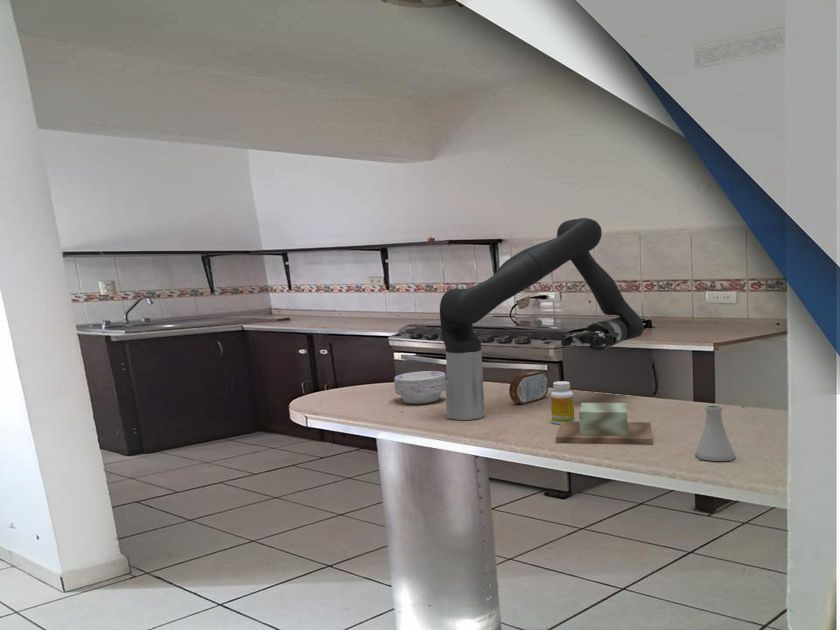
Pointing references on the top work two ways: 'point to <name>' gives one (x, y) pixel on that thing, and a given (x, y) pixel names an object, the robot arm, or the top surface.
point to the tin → (528, 387)
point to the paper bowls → (420, 386)
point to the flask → (714, 437)
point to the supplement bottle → (562, 403)
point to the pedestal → (604, 426)
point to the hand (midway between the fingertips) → (578, 342)
